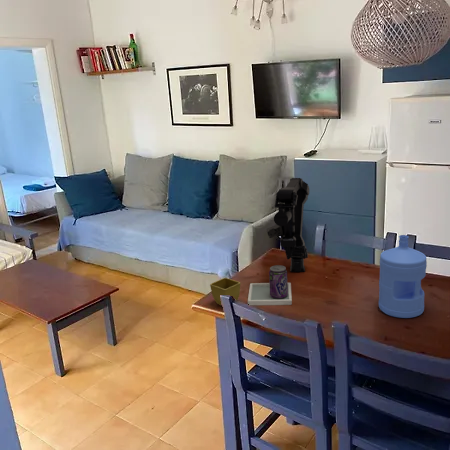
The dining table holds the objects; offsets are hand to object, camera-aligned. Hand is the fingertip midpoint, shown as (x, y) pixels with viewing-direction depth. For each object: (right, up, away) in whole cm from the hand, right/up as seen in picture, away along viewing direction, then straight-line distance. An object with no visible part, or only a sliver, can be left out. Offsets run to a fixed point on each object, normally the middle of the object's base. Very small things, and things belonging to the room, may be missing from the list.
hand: (288, 255), depth 196 cm
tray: (-8, -16, -6) cm, 19 cm away
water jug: (+38, -18, -24) cm, 49 cm away
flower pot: (-26, -19, -10) cm, 33 cm away
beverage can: (-5, -16, -8) cm, 19 cm away
